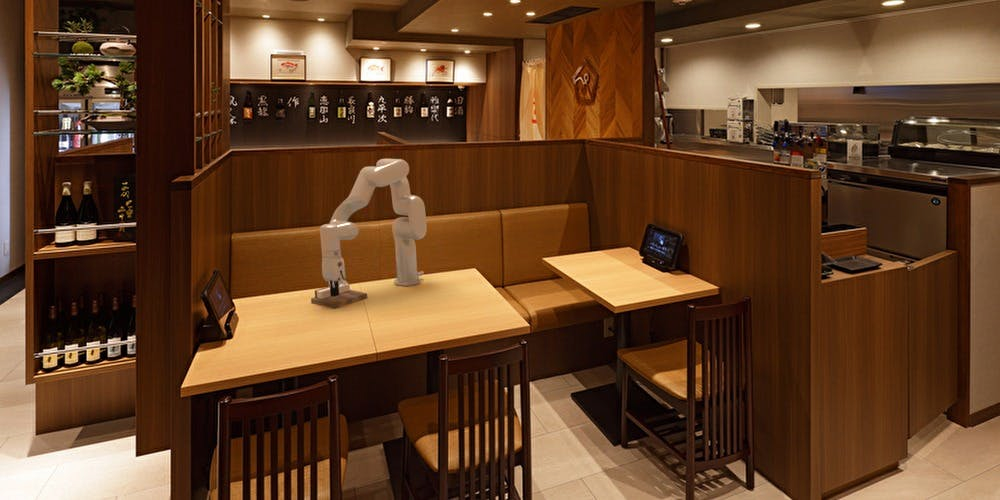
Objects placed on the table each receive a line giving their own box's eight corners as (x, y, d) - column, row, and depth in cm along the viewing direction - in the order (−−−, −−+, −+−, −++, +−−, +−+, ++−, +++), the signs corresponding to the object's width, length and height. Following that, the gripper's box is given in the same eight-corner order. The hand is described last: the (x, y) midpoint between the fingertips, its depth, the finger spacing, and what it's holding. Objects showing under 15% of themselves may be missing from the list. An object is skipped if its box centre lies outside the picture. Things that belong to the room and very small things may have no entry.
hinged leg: (345, 289, 253) (344, 279, 252) (349, 290, 252) (349, 280, 251) (317, 297, 242) (316, 287, 241) (321, 298, 240) (320, 289, 239)
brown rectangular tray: (344, 292, 256) (343, 281, 255) (367, 297, 248) (366, 286, 247) (311, 302, 242) (310, 291, 241) (334, 308, 234) (333, 297, 232)
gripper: (350, 254, 234) (353, 296, 238) (327, 249, 243) (331, 290, 247) (335, 257, 229) (339, 300, 233) (312, 253, 237) (316, 295, 241)
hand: (334, 295), depth 240 cm, fingers closed
